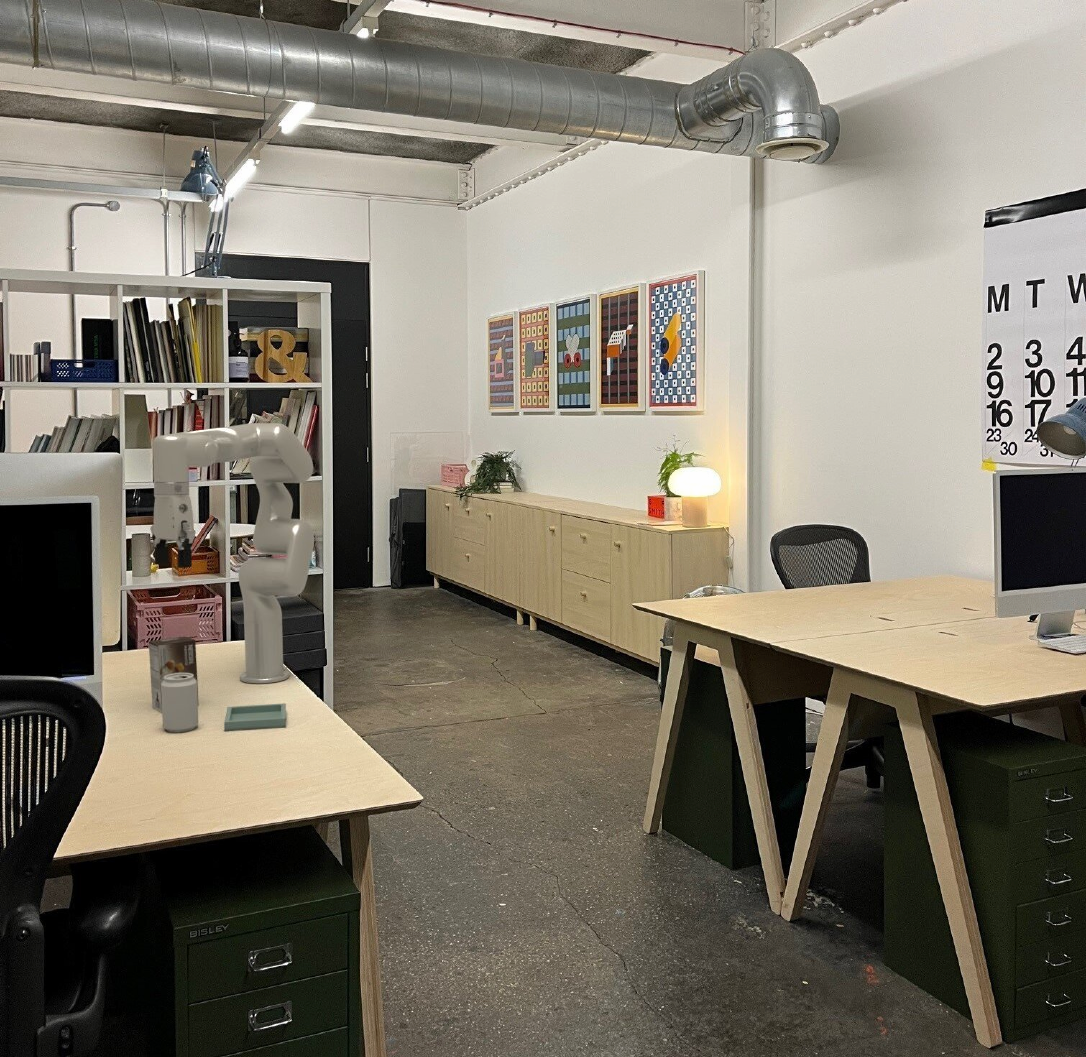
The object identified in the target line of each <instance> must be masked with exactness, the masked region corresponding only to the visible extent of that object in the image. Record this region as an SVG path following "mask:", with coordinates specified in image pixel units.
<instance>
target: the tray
mask: <svg viewBox="0 0 1086 1057" xmlns="http://www.w3.org/2000/svg"><path fill="white" fill-rule="evenodd" d="M286 706H287V705H286V703H270V704H269V703H268V704H253V705H252V704H251V705H236V706H234V705H233V706H227V707H226V712H225V717H224V722H223V725H224V727H223V728H224V732H234V731H249V730H265V729H281V728H283V729H284V728H287V723H286V722H287V707H286Z"/></svg>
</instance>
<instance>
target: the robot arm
mask: <svg viewBox="0 0 1086 1057" xmlns="http://www.w3.org/2000/svg"><path fill="white" fill-rule="evenodd" d="M152 449H153V450H152V451H153V455H152V456H153V496H154V506H153V524H152V525H151V526H150V532H151V539H152V542H153V543H152V545H153V547H154V564H155V565H169V563H170V556H169V555H170V552H169V551H170V547H169V545H168V543H169V541H171V542H176V545H177V547H178V549H177V550H176V551H177V554H176V556H177V568H179V569H183V568H185V569H186V568H191V567H192V566H193V562H192V561H193V556H192V555H193V554H192V550H193V548H194V546H193V545H194V543H195V536H196V533H197V532H196V530H195V525H194V524H195V523H194V513H193V506H192V500H191V496H190V468H208V467H209V466H211V465H213V464H214V463H217V464H218V463H230V462H236V461H241V460H245V459H249V463H248V465H249V466H248V467H249V472H250V474H251V476H252V478H253V480H254V483H255V485H256V488H257V489H258V493H259V508H258V513H257V517H256V520H255V526H254V530H253V537H252V546H253V548H254V549H255V551H256V552H258V553H260V554H264V555H274V556H285V558H275V557H254V558H249V559H247V560H245V561H244V562H243V563H242V564H241V566H240V567H239V569H238V582H239V583H238V584H239V587H240V592H241V596H242V604H243V625H244V653H245V654H244V659H245V661H244V662H245V671H244V672H241V673H240V674H239V680H240V681H241V682H243V683H248V684H270V683H276V682H277V683H278V682H282V681H285V680H287V679H289V677H290V671H288V670H287V669H284V649H283V648H284V645H283V642H284V640H283V613H282V612H283V611H282V608H281V605H280V602H279V601H278V599H277V598H276V596H279V597H280V596H281V597H296V596H299V595H300V594H301V593H302V592H303V591H304V589H305V587H306V584H307V581H308V576H309V571H310V565H311V561H312V556H313V551H314V545H315V534H314V530H313V527H312V525H311V524H310V523H309V522H308V521H306V520H304V519H300V518H292V513H293V508H294V507H293V506H294V502H293V498H292V495H291V493H290V492H289V490H288V488H286V486H285V485H284V483H285V484H302V483H305V482H307V481H308V480H310V478H311V477H312V475H313V472H314V464H313V459H312V457H311V455H310V453H309V451H308V450H307V449H306V447H305V446H304V445H303V443H302V442H301V441H300V439H299V438H298V437H297V435H296V434H295V433H294V432H293V431H292V430H291V429H290V428H289V427H288V426H286V425H285V424H283V423H280V422H278V423H277V422H276V423H275V422H273V423H272V422H269V423H268V422H266V423H264V422H263V423H261V422H260V423H259V422H255V423H254V422H252V423H250V422H249V423H244V424H239V425H238V424H237V425H231V426H226V427H225V426H224V427H216V428H215V427H213V428H209V429H208V428H207V429H201V430H194V431H193V430H192V431H183V432H177V433H176V432H175V433H170V434H163V435H157V436H155V438H154V439H153V442H152Z"/></svg>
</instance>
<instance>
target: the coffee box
mask: <svg viewBox="0 0 1086 1057" xmlns="http://www.w3.org/2000/svg"><path fill="white" fill-rule="evenodd" d="M196 645H197V643H196V639H194V638H191V637H188V636H186V635H184V636H179V637H171V638H170V637H169V638H163V639H157V640H156V639H155V640H149V641H148V652H149V670H150V688H151V689H150V690H151V691H150V692H151V693H150V694H151V707H152V708H153V709H155V711H159V713H162V697H161V683H162V682H163V681H164V680H165V679H164V676H166V675H169V674H174V673H191V674H193V675H194V676H193V678H194V679H195V680H196V681H197V698H198V707H199V706H200V702H199V701H200V700H199V686H198V685H199V684H198V683H199V682H198V666H197V665H198V663H197V662H198V661H197V648H196Z"/></svg>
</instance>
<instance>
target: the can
mask: <svg viewBox="0 0 1086 1057" xmlns="http://www.w3.org/2000/svg"><path fill="white" fill-rule="evenodd" d="M193 676H194V675H193V674H191V673H174V674H169V675H166V676H164V679H165V680H164V681H163V682H162V683H161V697H162V712H161V719H162V720H161V721H162V728H164V729H165V730H166V731H167V732H169V733H186V732H189V731H192V730H194V729H195V728H196V727H197V726H198V725H199V706H198V699H199V697H198V698H197V681H196V680H195V679H194V678H193Z"/></svg>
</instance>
